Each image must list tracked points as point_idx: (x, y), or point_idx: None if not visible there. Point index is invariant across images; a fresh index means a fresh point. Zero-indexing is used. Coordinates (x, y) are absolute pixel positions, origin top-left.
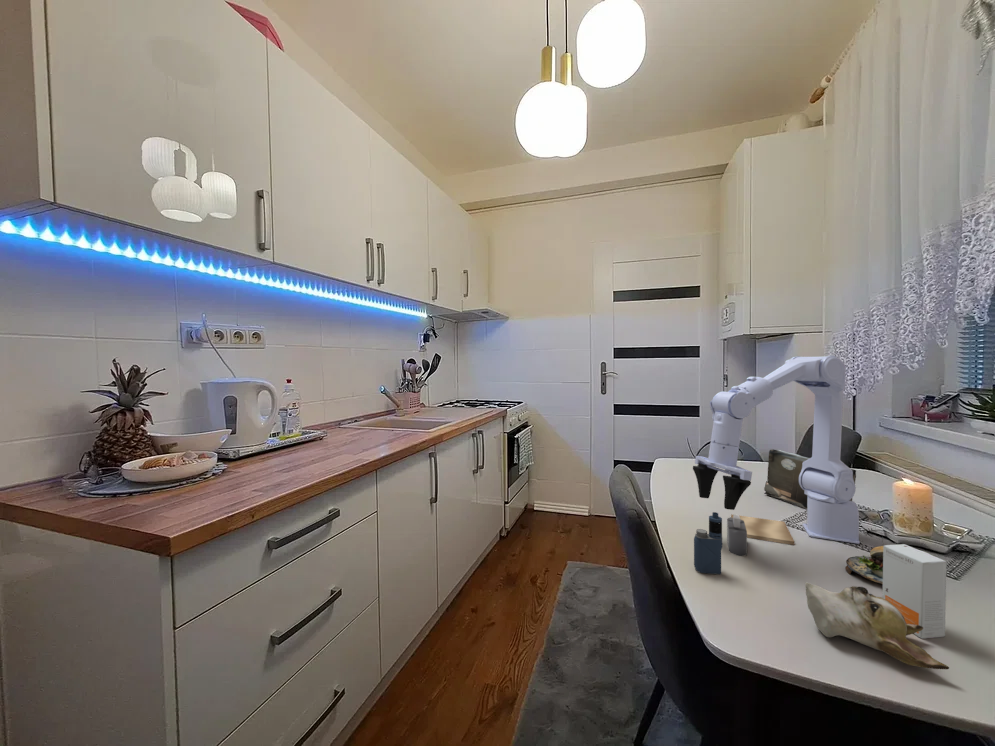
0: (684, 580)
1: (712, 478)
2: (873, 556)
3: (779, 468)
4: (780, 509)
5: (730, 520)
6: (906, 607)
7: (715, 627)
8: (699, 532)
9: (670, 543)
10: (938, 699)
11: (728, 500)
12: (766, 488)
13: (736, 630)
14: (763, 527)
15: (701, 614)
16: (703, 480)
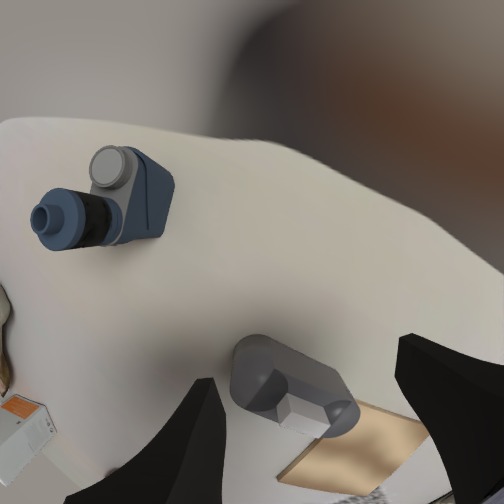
0: (124, 125)
1: (448, 460)
2: None
3: None
4: (414, 496)
5: (340, 406)
6: (7, 410)
7: (17, 131)
8: (98, 151)
9: (331, 183)
10: None
11: (175, 413)
12: None
13: (7, 160)
14: (357, 463)
15: (38, 120)
16: (462, 402)
